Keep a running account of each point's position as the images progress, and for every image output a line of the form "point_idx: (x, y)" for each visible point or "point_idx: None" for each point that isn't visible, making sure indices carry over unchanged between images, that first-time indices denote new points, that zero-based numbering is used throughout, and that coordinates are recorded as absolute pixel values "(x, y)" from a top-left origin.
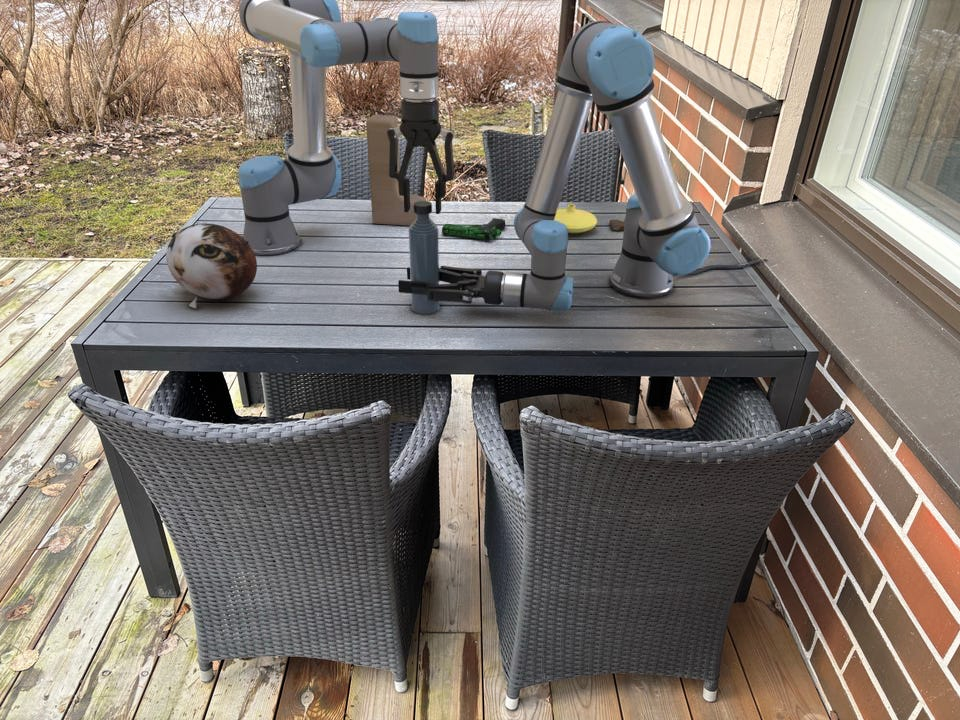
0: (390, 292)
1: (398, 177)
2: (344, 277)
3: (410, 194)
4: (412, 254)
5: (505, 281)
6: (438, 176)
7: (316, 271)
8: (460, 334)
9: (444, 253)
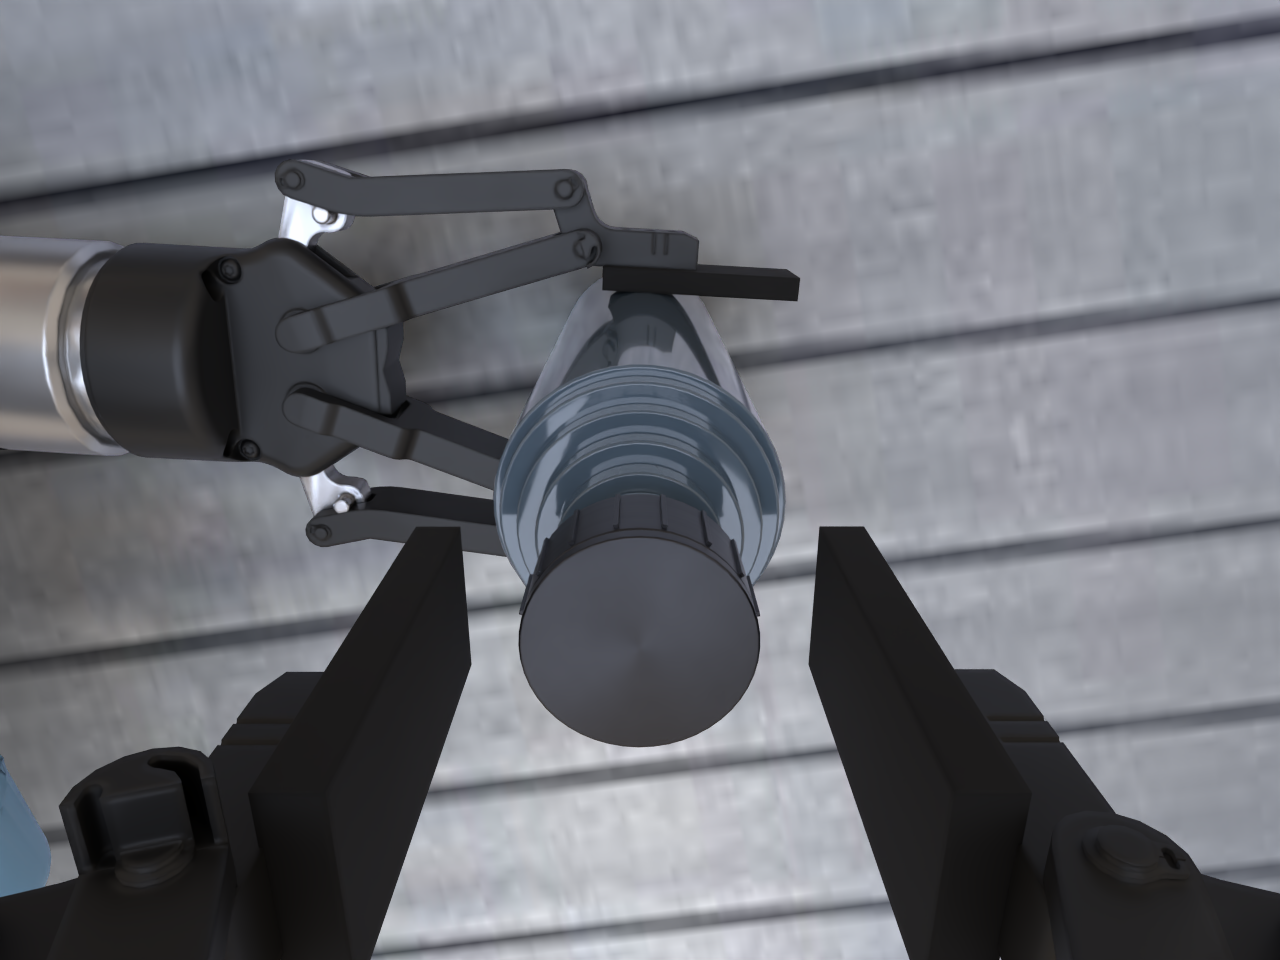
0: (854, 490)
1: (1187, 873)
2: (1116, 620)
3: None
4: (718, 352)
5: (46, 293)
6: (170, 939)
7: (1268, 664)
8: (384, 48)
9: (659, 921)
